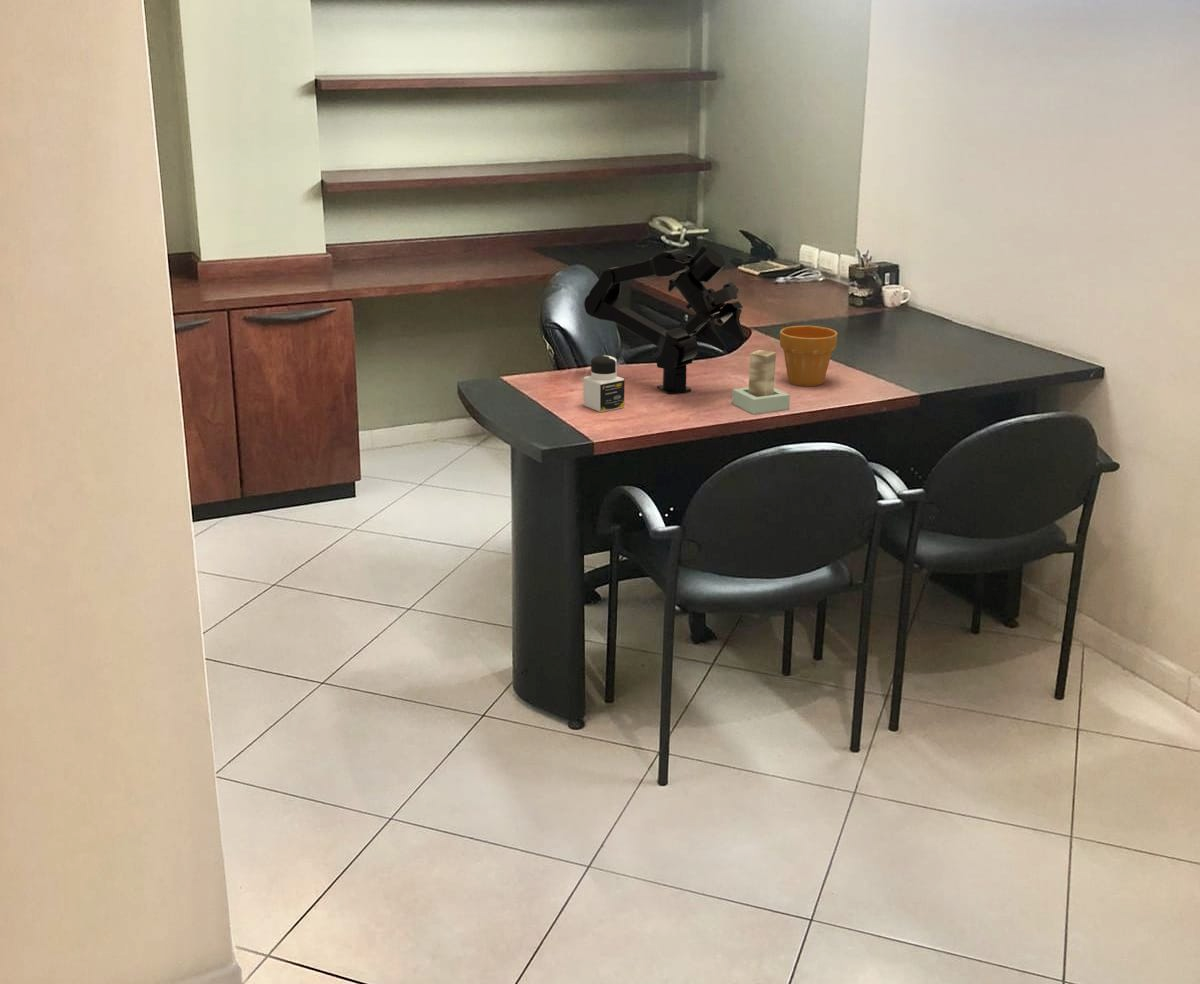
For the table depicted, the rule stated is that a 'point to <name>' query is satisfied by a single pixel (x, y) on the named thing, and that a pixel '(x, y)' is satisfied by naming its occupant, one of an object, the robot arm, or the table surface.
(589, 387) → the medicine bottle
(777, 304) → the table surface
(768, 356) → the maple peg
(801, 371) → the flower pot
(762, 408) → the socket block
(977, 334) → the table surface
